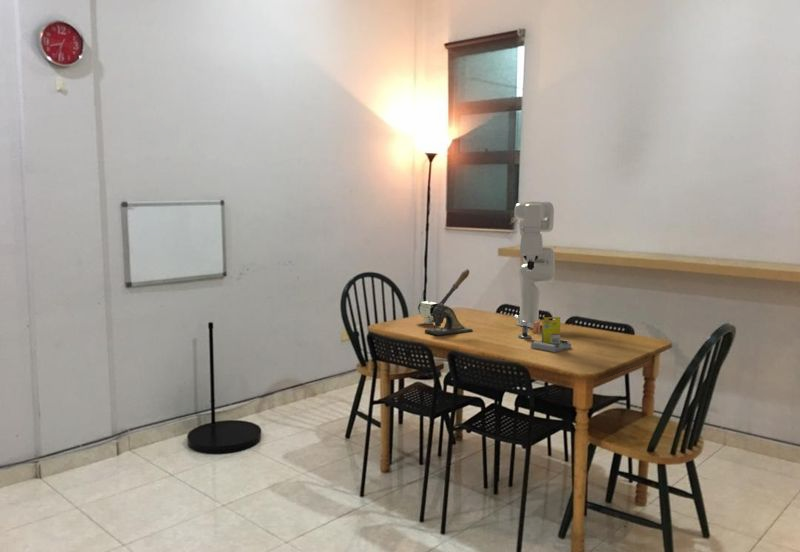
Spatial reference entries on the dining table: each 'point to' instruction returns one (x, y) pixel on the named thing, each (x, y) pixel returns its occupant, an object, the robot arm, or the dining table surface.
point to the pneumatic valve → (427, 311)
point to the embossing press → (448, 313)
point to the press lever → (531, 325)
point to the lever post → (524, 333)
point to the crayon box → (551, 330)
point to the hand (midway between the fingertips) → (530, 269)
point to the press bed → (551, 346)
